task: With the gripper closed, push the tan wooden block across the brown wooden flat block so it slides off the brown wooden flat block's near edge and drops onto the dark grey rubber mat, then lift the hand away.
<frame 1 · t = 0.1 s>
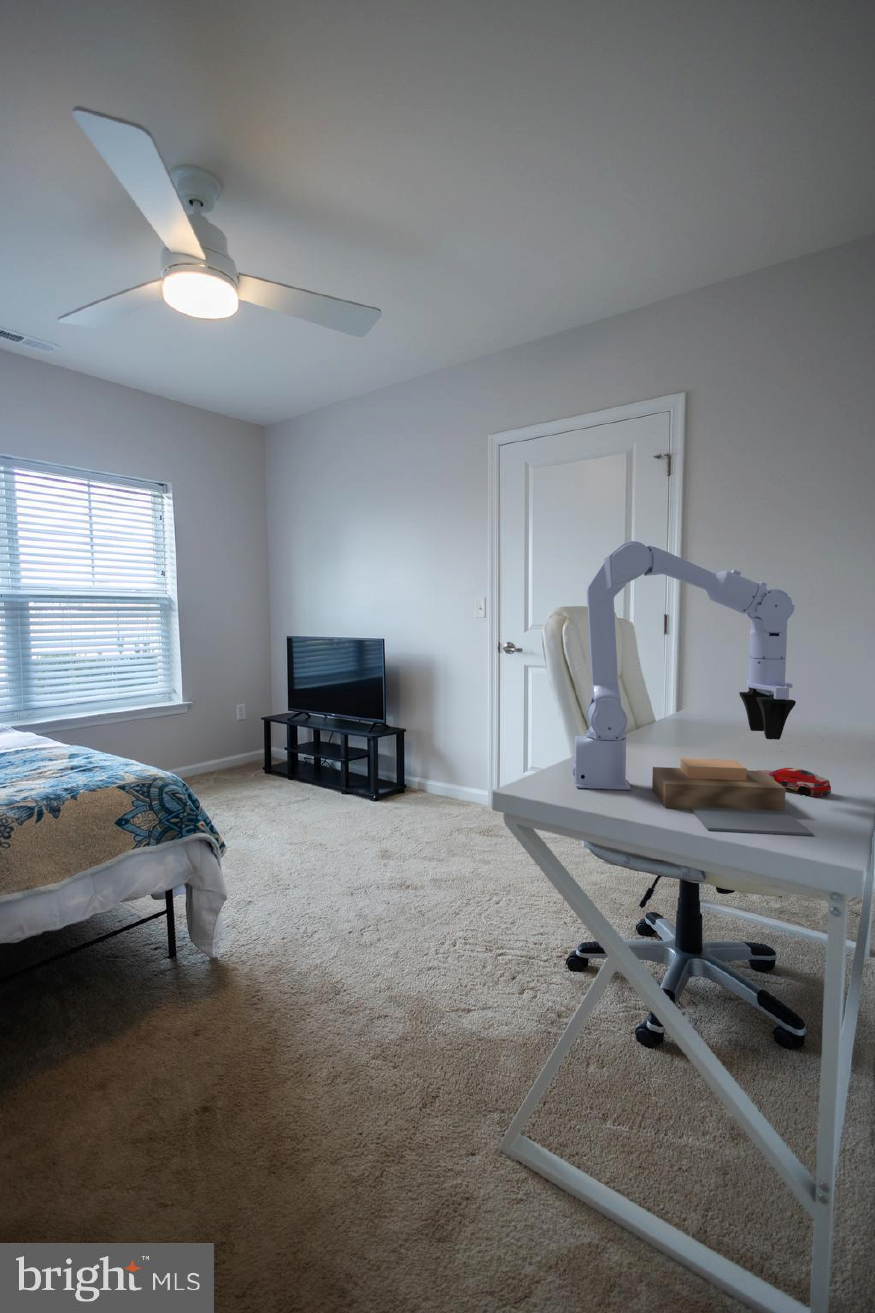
hand: (764, 734, 108), 10 cm above the table, tool pointing down, fingers open, 7 cm apart
tan wooden block: (712, 774, 104), point 4 cm above the table, touching brown wooden flat block
mat: (747, 821, 92), on the table
race car: (787, 791, 109), on the table
brown wooden flat block: (714, 800, 102), on the table
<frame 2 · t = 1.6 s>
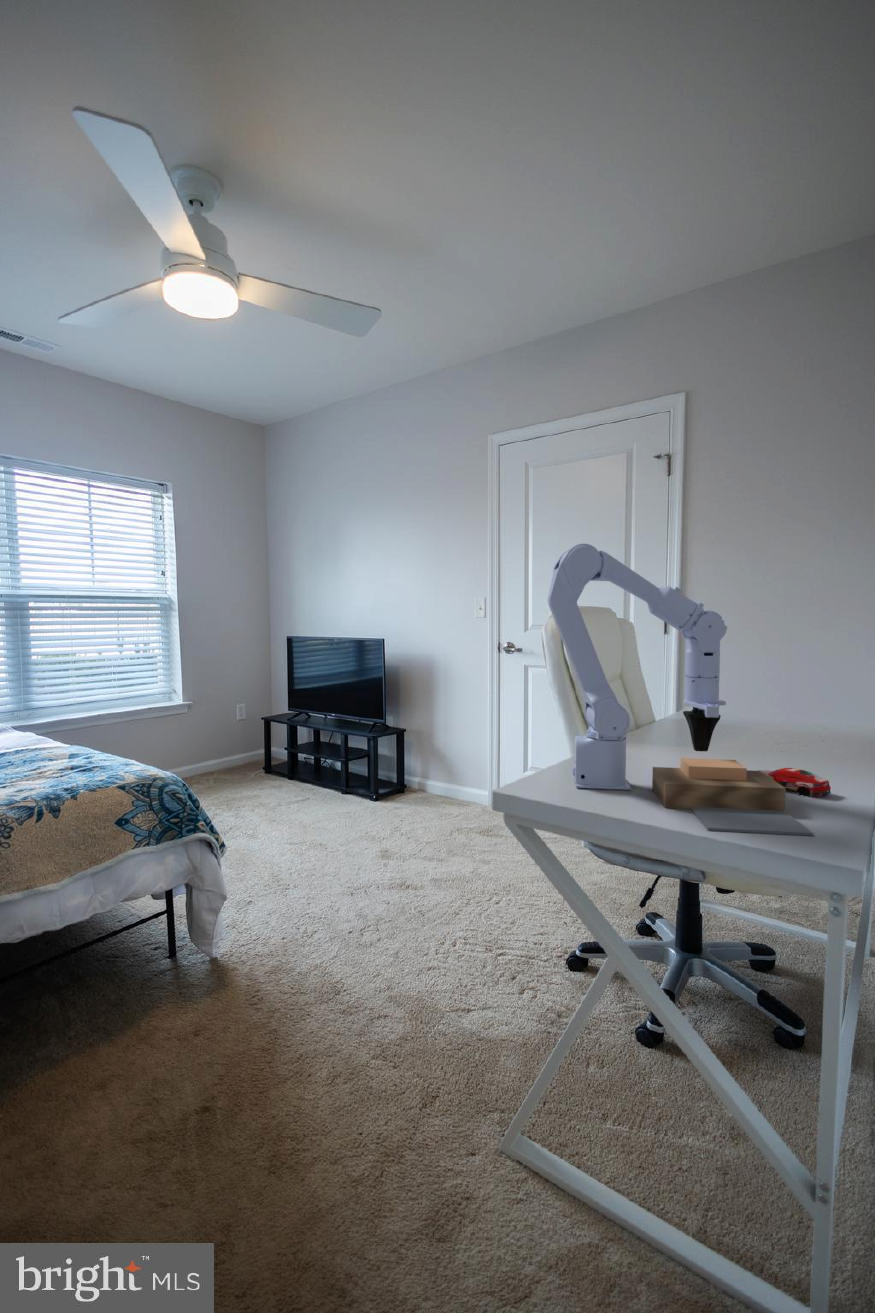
hand: (700, 750, 111), 6 cm above the table, tool pointing down, fingers closed
nothing on the table moved.
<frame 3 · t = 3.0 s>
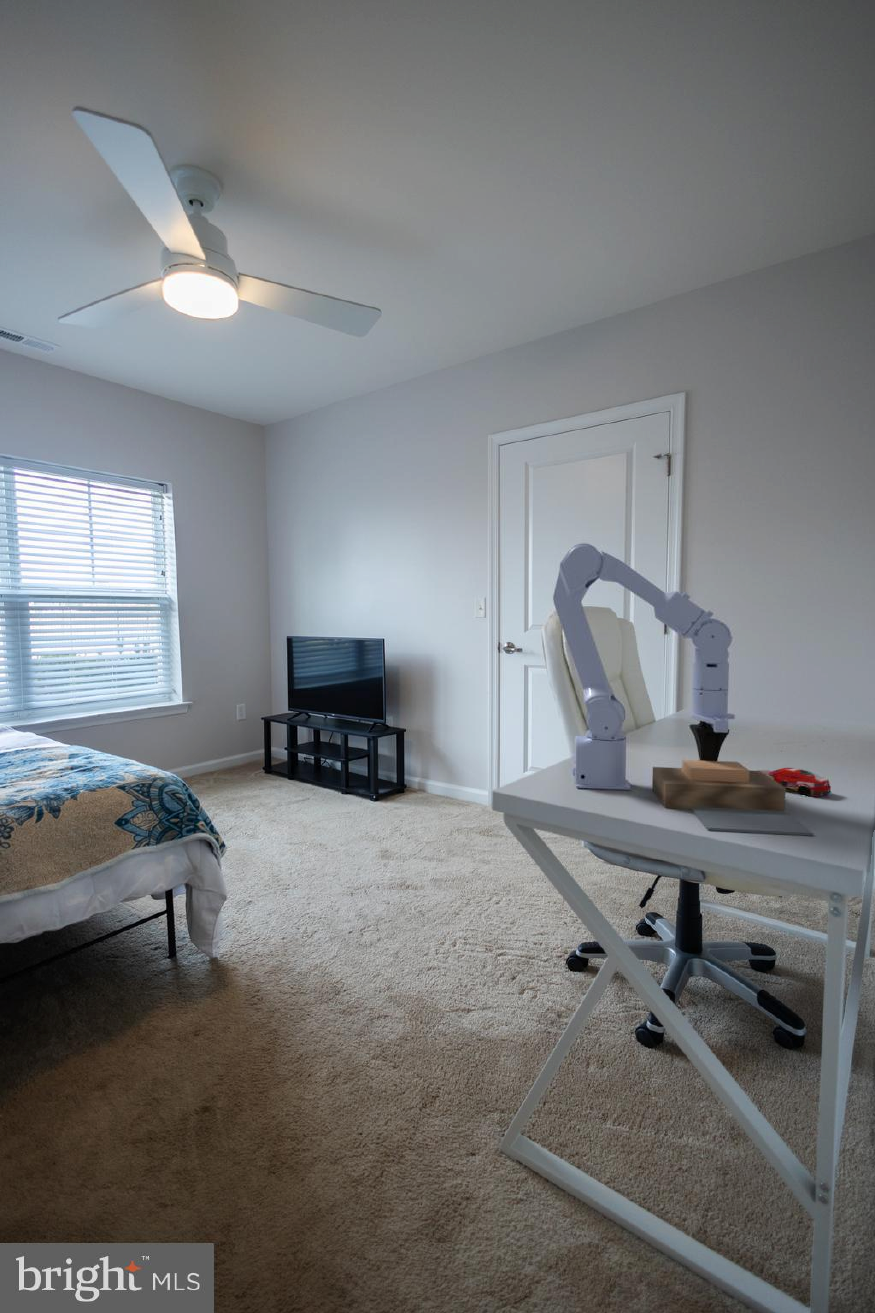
hand: (708, 766, 106), 5 cm above the table, tool pointing down, fingers closed
tan wooden block: (714, 776, 102), point 4 cm above the table, touching brown wooden flat block
everything else where it was.
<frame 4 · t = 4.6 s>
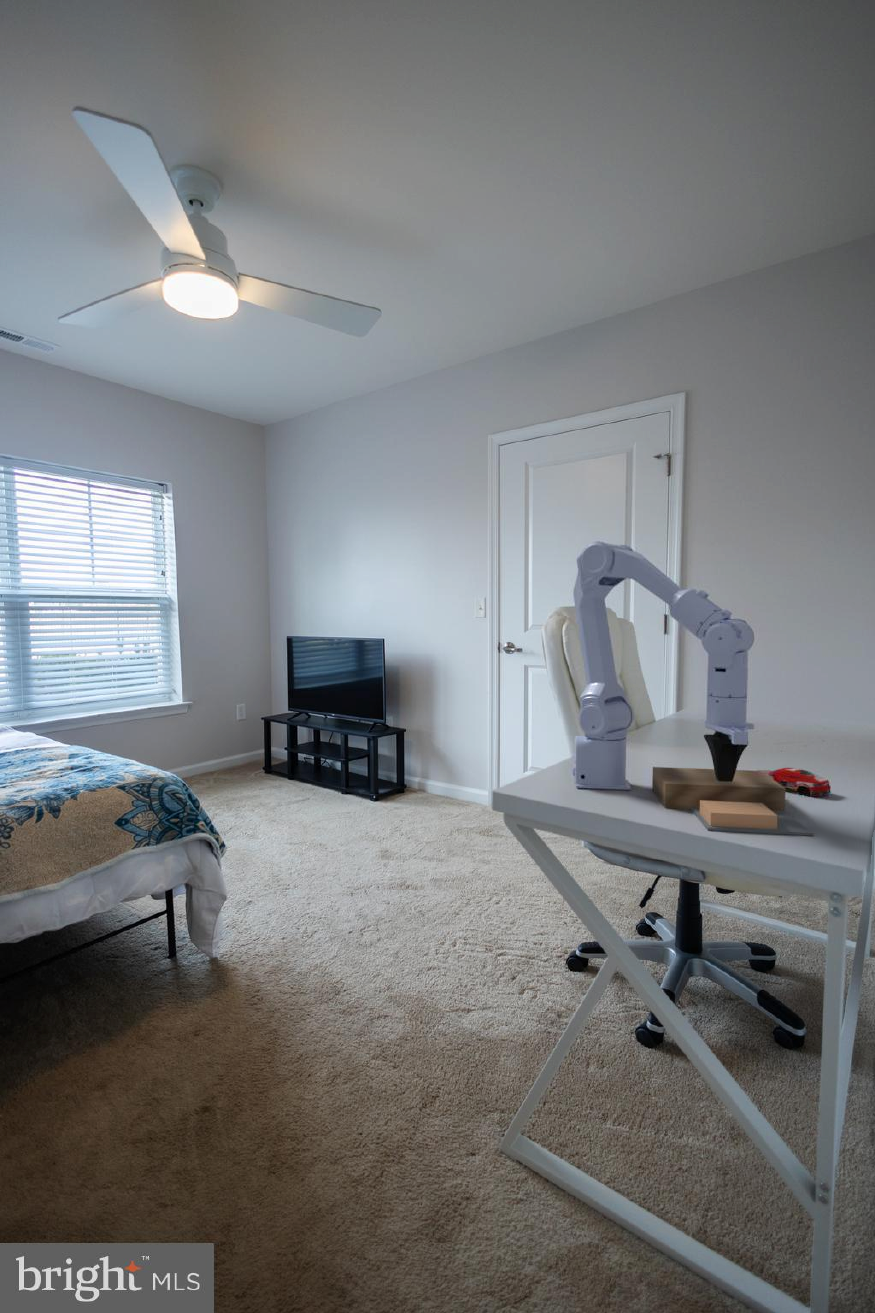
hand: (724, 780, 97), 5 cm above the table, tool pointing down, fingers closed
tan wooden block: (737, 807, 91), point 2 cm above the table, tilted 180°, touching mat
everything else where it was.
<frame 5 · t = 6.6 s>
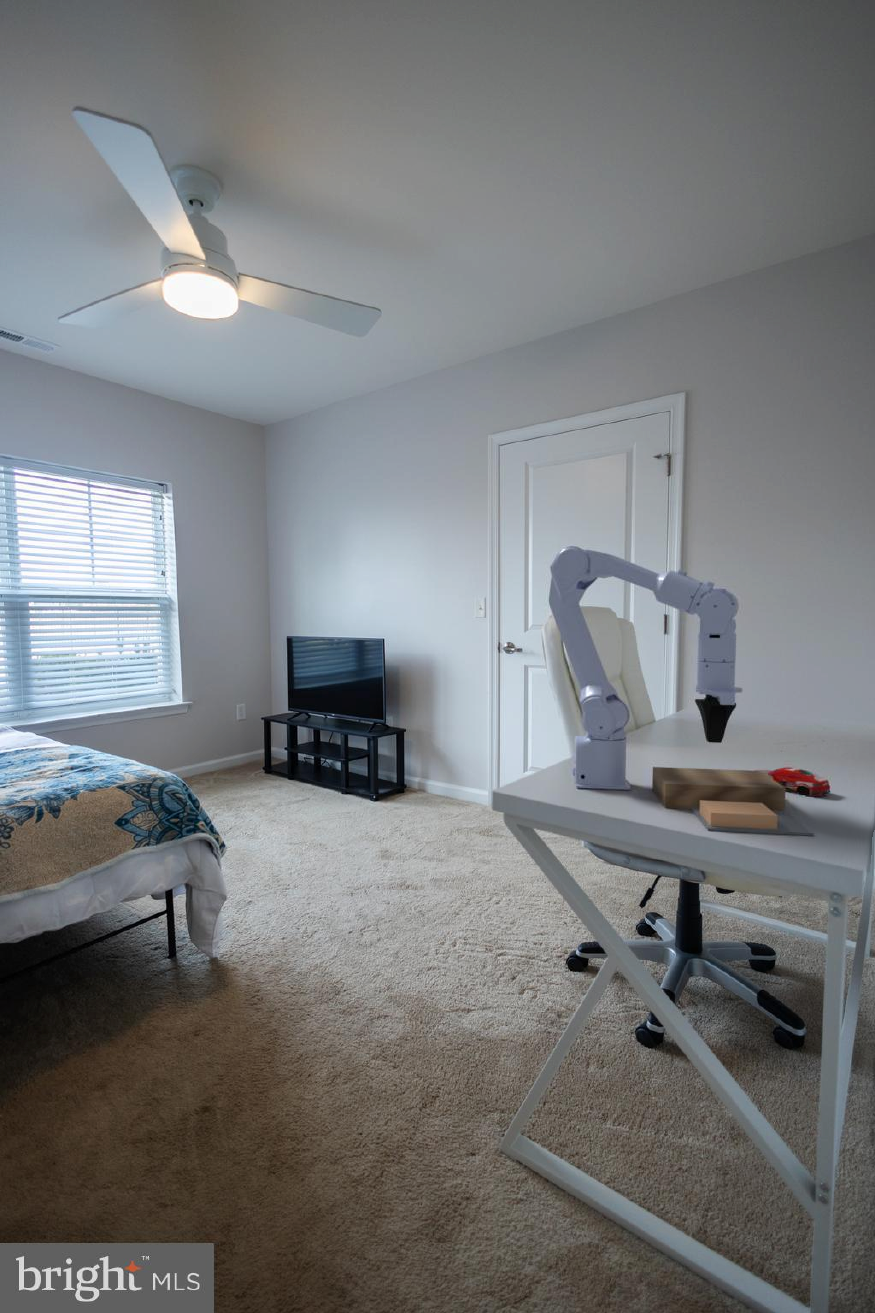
hand: (713, 741, 102), 10 cm above the table, tool pointing down, fingers closed
nothing on the table moved.
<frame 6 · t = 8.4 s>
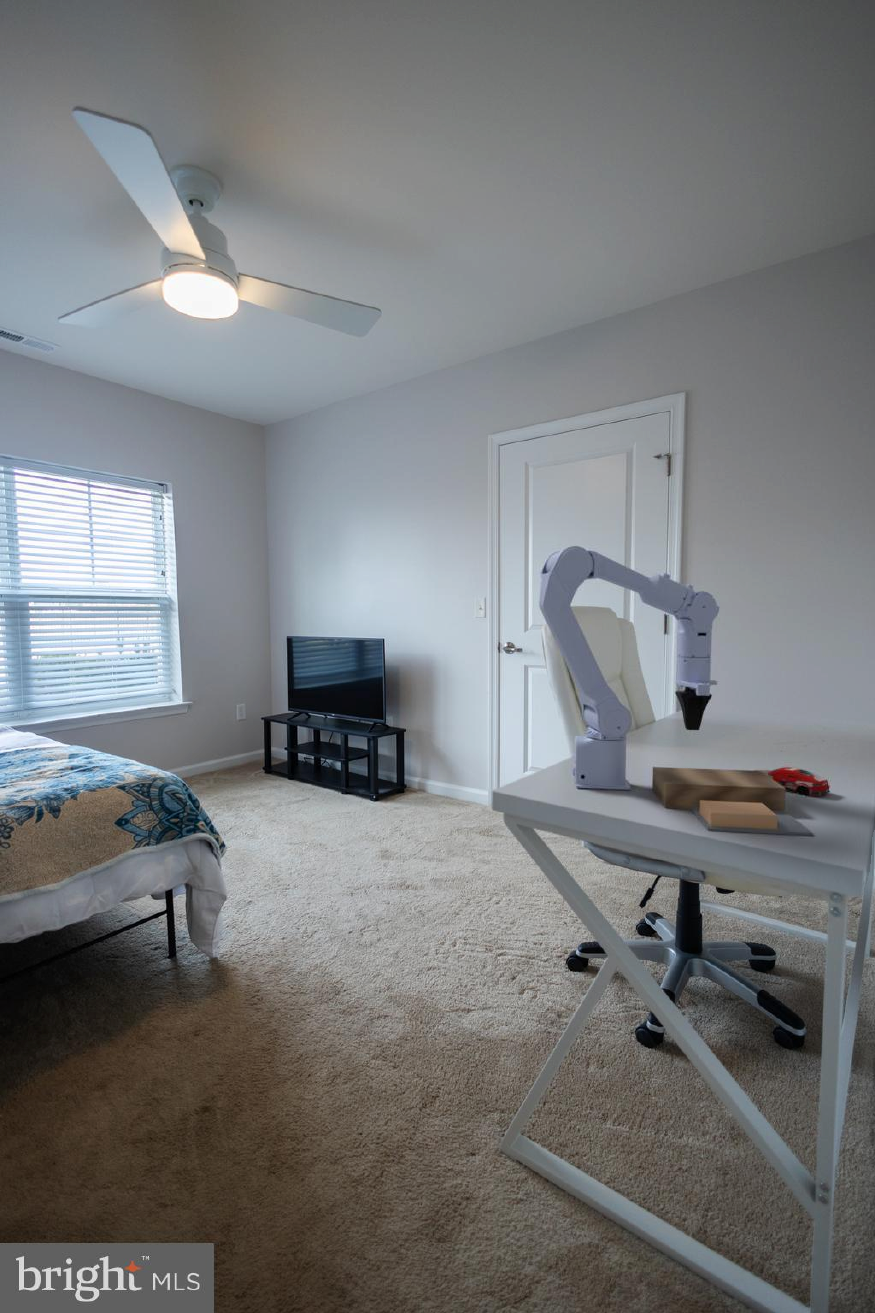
hand: (692, 729, 113), 10 cm above the table, tool pointing down, fingers closed
nothing on the table moved.
at the end: tan wooden block point 2.4 cm above the table; tan wooden block inside the target area (2.1 cm from its centre), point 2.4 cm above the table; tan wooden block touching mat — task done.
